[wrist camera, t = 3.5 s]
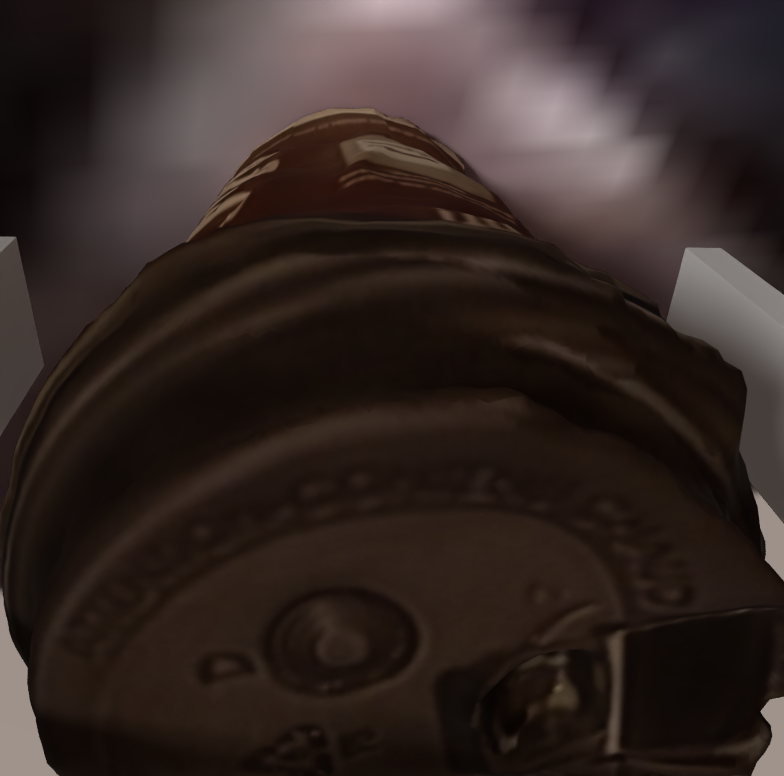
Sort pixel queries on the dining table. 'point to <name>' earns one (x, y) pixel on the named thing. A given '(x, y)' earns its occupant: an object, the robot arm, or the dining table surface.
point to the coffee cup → (387, 499)
